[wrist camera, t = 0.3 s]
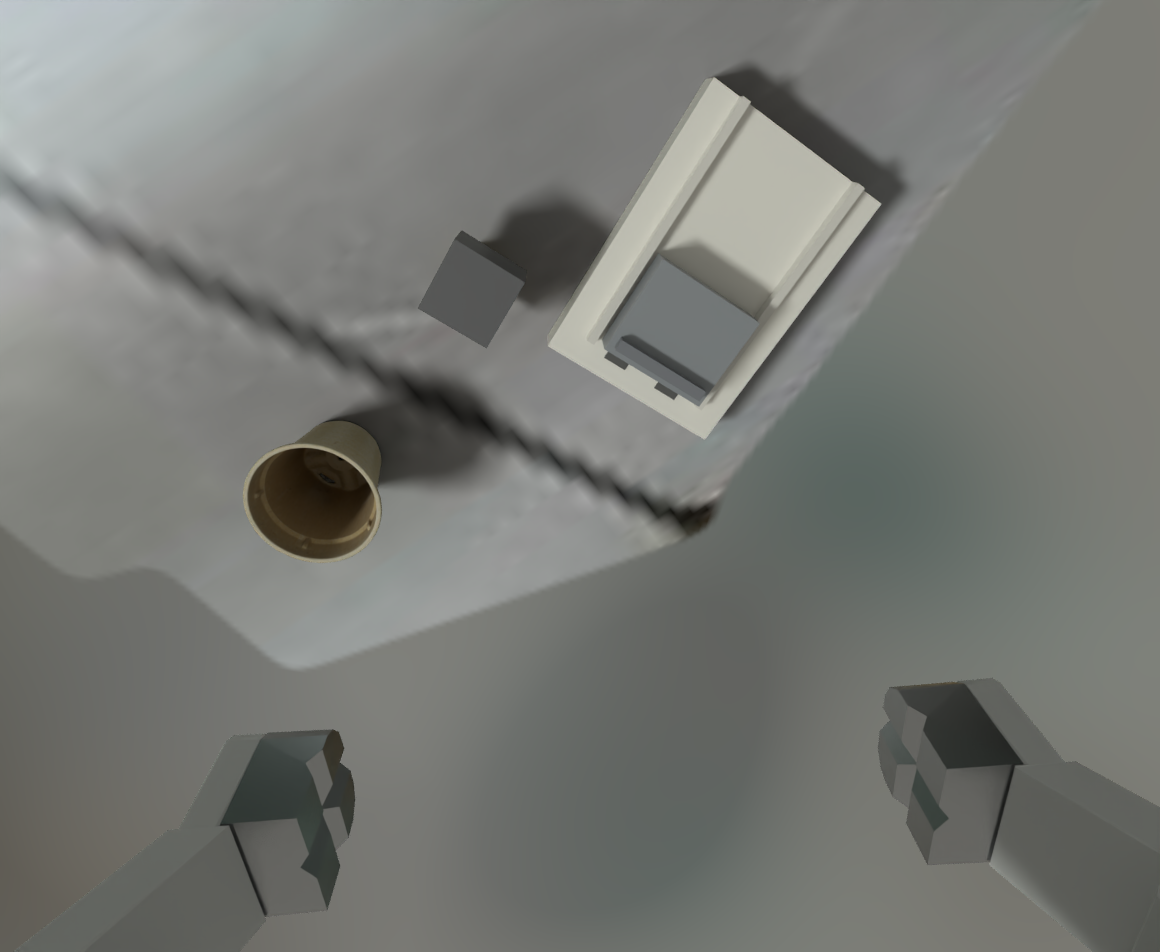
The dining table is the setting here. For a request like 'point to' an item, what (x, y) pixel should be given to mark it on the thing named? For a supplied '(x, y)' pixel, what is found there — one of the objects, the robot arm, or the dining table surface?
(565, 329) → the socket plate
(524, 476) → the dining table surface
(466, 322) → the plug
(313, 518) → the flower pot
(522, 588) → the dining table surface
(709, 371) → the cover
